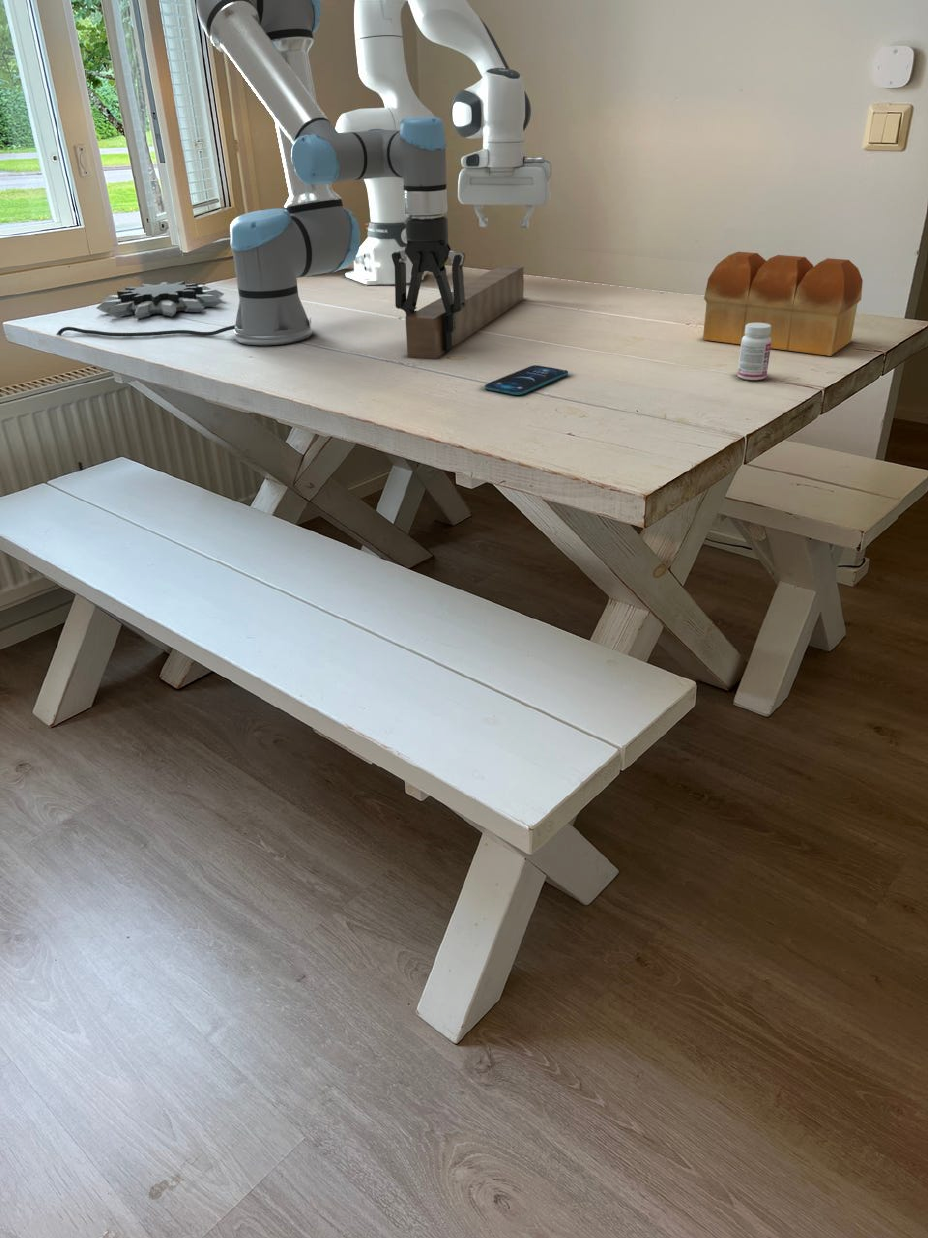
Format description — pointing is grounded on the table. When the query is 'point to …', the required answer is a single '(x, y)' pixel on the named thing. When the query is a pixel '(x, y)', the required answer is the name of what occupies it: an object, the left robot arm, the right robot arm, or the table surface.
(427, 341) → the bar
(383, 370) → the table surface
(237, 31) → the left robot arm
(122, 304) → the decorative piece
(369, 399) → the table surface
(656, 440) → the table surface
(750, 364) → the pill bottle
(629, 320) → the table surface
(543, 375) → the smartphone
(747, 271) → the bread
